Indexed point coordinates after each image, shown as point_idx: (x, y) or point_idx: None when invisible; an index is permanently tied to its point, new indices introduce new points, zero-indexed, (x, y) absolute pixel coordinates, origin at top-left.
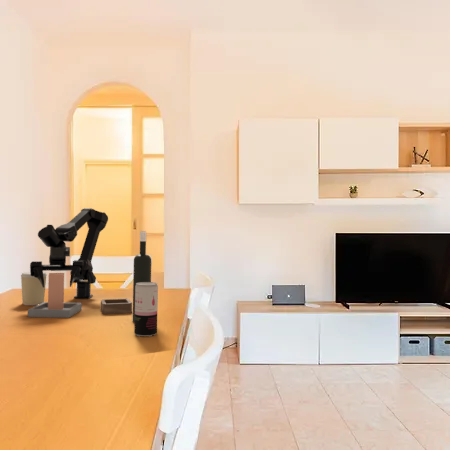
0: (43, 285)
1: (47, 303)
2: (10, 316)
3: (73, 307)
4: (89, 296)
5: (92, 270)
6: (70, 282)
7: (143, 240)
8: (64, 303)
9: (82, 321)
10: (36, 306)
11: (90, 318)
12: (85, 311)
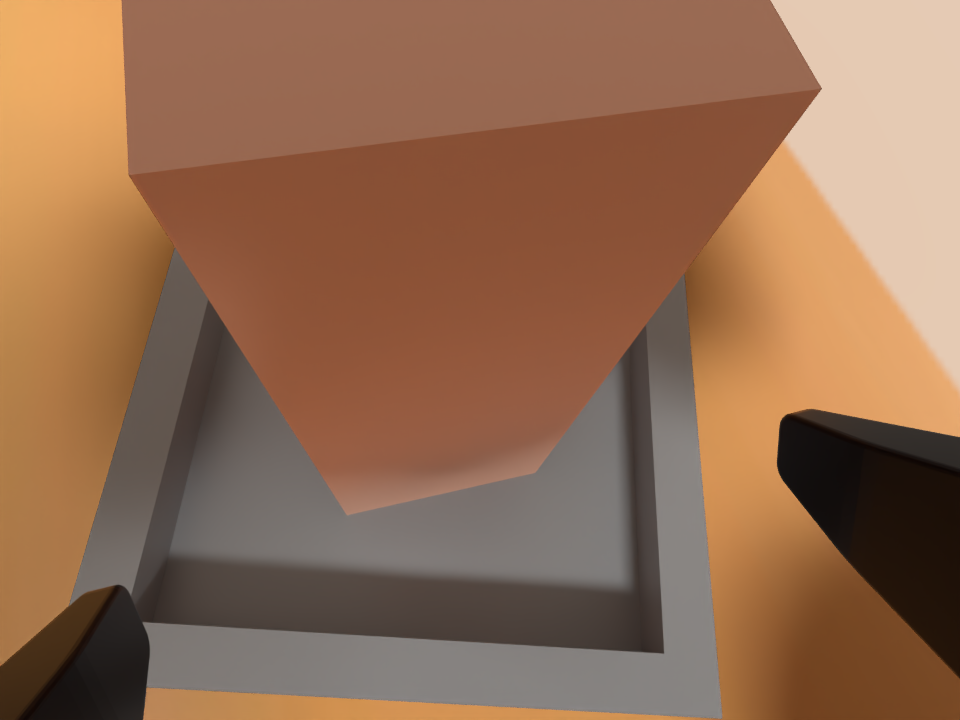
0: (798, 411)
1: (629, 653)
2: (820, 267)
3: (169, 290)
4: None
5: None
6: (67, 640)
7: None
8: (349, 634)
9: (91, 57)
10: (666, 359)
11: (5, 158)
12: (45, 537)
